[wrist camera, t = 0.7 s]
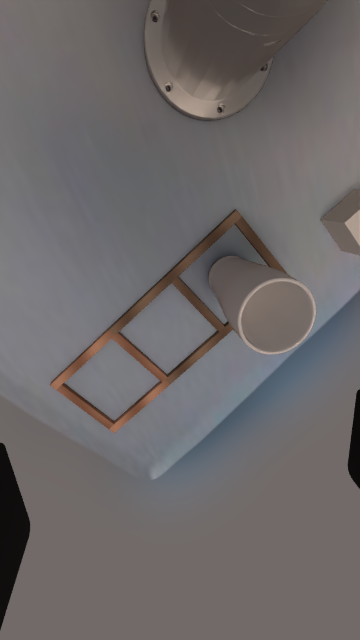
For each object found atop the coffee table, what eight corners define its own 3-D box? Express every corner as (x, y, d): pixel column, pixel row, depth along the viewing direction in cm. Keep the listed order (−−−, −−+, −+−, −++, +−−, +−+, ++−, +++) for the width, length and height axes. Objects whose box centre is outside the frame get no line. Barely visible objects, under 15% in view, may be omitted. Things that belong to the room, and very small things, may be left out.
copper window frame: (235, 209, 38) (236, 209, 38) (288, 277, 42) (290, 278, 41) (51, 382, 43) (50, 385, 42) (114, 430, 46) (114, 433, 46)
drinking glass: (192, 262, 40) (225, 298, 26) (245, 239, 40) (306, 262, 26) (212, 311, 42) (252, 368, 28) (262, 289, 42) (326, 336, 28)
